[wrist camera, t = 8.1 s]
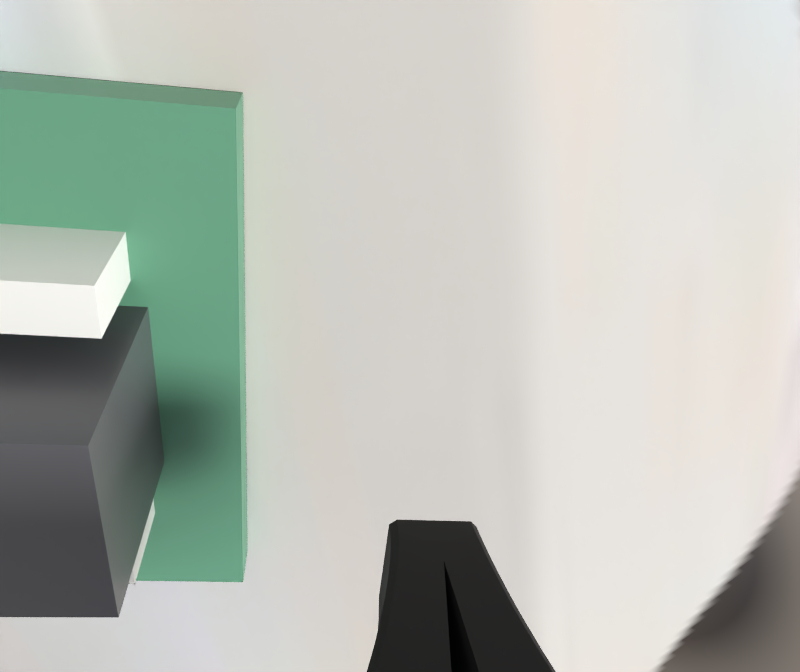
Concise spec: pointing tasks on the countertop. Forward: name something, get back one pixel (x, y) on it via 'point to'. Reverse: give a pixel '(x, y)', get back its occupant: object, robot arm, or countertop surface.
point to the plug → (76, 466)
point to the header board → (141, 277)
